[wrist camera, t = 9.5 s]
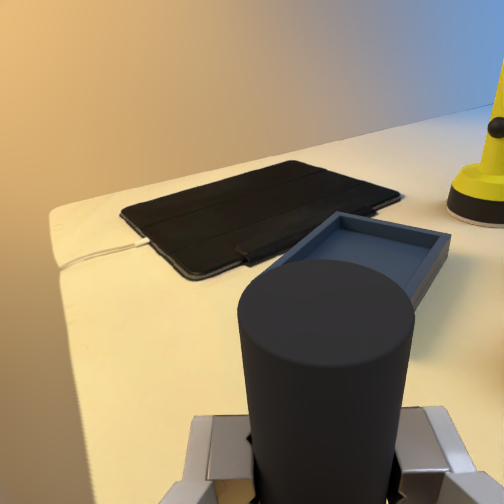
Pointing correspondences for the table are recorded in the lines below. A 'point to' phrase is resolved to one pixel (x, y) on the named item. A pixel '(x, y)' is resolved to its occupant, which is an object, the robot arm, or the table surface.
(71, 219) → the table surface
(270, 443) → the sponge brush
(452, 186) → the flashlight
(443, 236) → the tray
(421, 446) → the robot arm
